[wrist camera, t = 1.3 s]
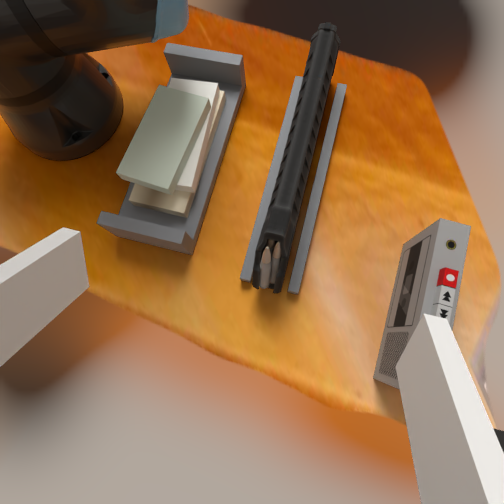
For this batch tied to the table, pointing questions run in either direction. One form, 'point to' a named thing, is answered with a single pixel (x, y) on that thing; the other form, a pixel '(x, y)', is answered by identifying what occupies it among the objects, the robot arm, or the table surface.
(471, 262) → the table surface
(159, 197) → the offcut
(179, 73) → the rack
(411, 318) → the cassette player
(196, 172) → the offcut
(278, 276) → the magazine
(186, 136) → the offcut
